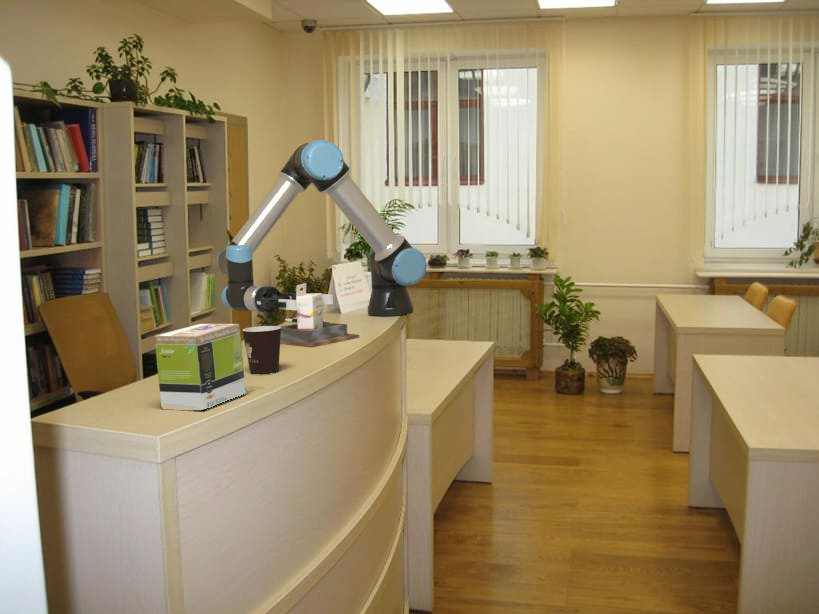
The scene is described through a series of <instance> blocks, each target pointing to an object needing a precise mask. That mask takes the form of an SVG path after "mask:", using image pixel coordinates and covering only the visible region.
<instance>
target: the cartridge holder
mask: <svg viewBox="0 0 819 614" xmlns="http://www.w3.org/2000/svg"><path fill="white" fill-rule="evenodd" d="M280 327H281V336H280V345H286V346H287V345H288V346H298V347H306V348H315V347H320V346H325V345H329V344H333V343H338V342H344V341H349V340H354V339H358V338H360V334H357V333H348V324H347V323H336V322H324V321H323V328H319V329H314V330H299V329H298V323H295V324H290V325H289V324H288V325H282V326H280Z"/></svg>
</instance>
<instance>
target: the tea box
mask: <svg viewBox="0 0 819 614" xmlns="http://www.w3.org/2000/svg"><path fill="white" fill-rule="evenodd" d="M240 328H241V326H240V323H198V324H193V325H191V326H187V327H182V328H179V329H175V330H171V331H168V332H164V333H160V334H156V335H154V345H155V355H156V365H157V367H156V368H157V375H158V386H159V388H158V389H159V397H160V405H161V406H169V407H181V408H182V407H183V408H194V409H205V408H208V407H211V406H214V405H216V404H219V403H222V402H224V403H226V402H225V401H227V400H229V401H231V400H230V399H232V400H234V399H236V398H235V397H237V398H239V397H241V395H242V396H244V395H246V394H247V393H246V382H245V380H246V379H245V373H244V372H245V370H244V358H243V347H242V338H241V337H242V336H241V329H240ZM243 394H244V395H243ZM238 396H239V397H238ZM233 398H234V399H233ZM227 402H228V401H227ZM222 404H223V403H222ZM161 406H160V407H161Z"/></svg>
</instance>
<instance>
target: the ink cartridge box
mask: <svg viewBox="0 0 819 614" xmlns="http://www.w3.org/2000/svg"><path fill="white" fill-rule="evenodd" d="M301 289H302V290H301ZM295 293H296V300H297V310H296V316H297V318H296V319H297V321H296V322H297V323H296V324H298V329H299V330H314V329H319V328H323V322H324V321H323V304H322V294H323V293H321V292H318V293H316V292H313V293H314V294H306V293H307V282H305V283H301V284H298V285H296V292H295Z"/></svg>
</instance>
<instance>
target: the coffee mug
mask: <svg viewBox="0 0 819 614" xmlns="http://www.w3.org/2000/svg"><path fill="white" fill-rule="evenodd" d="M281 327H282V326H278V325H276V326H275V325H263V326H260V325H259V326H252V327H246V328H243V329H242V334H243V340H244V347H245V353H246V357H247V363H248V368H249V373H251V374H250V375H253V374H268V375H271V374H270V373H274V374H277V373H279V372H278V371H279V370H280V369H279V368H280V351H281V344H280V336H281ZM276 372H277V373H276Z"/></svg>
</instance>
